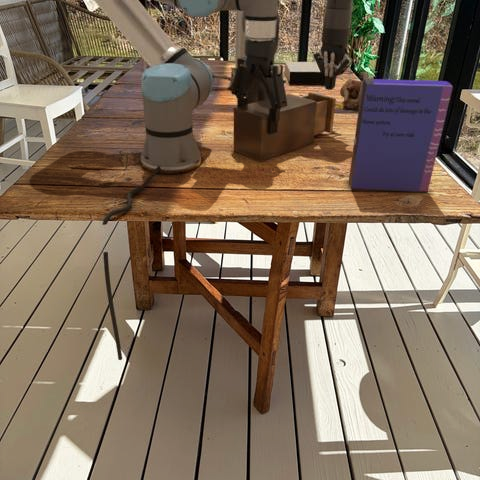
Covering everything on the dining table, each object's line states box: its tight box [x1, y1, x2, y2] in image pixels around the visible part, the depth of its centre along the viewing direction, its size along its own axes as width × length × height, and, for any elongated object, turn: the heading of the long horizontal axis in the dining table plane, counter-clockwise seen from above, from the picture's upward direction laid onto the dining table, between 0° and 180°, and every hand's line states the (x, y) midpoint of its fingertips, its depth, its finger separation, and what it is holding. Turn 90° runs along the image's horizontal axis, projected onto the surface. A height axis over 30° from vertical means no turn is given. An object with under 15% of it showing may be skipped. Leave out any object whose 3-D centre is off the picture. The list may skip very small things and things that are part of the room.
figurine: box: [211, 66, 287, 89], centre depth 190 cm, size 24×8×30 cm
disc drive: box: [284, 61, 325, 85], centre depth 207 cm, size 18×22×5 cm
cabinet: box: [233, 93, 317, 162], centre depth 131 cm, size 22×11×12 cm, turn 133°
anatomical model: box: [339, 71, 369, 110], centre depth 171 cm, size 13×9×15 cm
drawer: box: [301, 91, 344, 136], centre depth 139 cm, size 26×9×10 cm, turn 133°
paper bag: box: [234, 10, 247, 68], centre depth 210 cm, size 19×15×28 cm
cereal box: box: [348, 78, 454, 193], centre depth 106 cm, size 17×5×24 cm, turn 86°
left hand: (257, 127), depth 127 cm, fingers closed on cabinet, 11 cm apart
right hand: (329, 89), depth 141 cm, fingers closed
